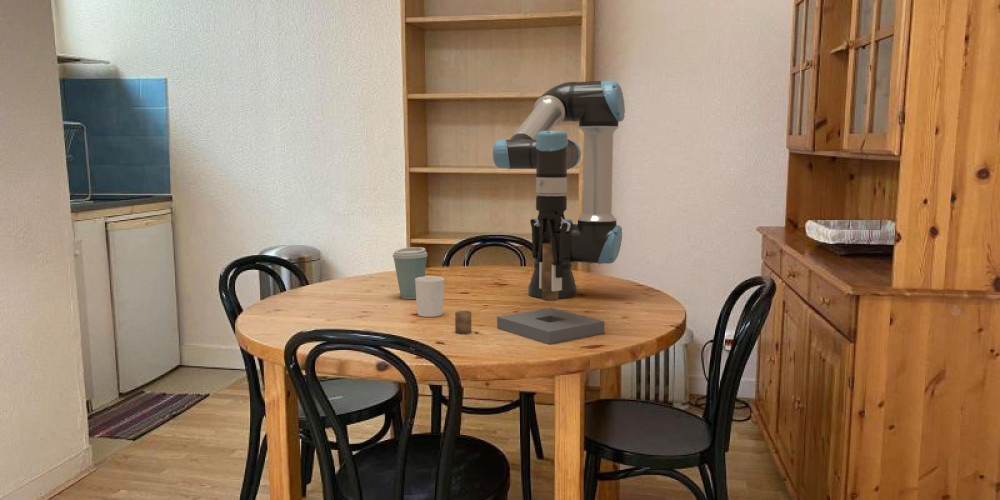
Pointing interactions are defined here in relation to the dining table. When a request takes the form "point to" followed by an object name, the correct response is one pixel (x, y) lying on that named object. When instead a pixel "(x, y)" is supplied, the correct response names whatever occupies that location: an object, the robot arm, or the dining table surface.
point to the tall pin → (548, 274)
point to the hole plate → (550, 325)
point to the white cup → (429, 296)
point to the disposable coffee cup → (409, 269)
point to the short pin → (463, 322)
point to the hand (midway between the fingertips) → (550, 288)
